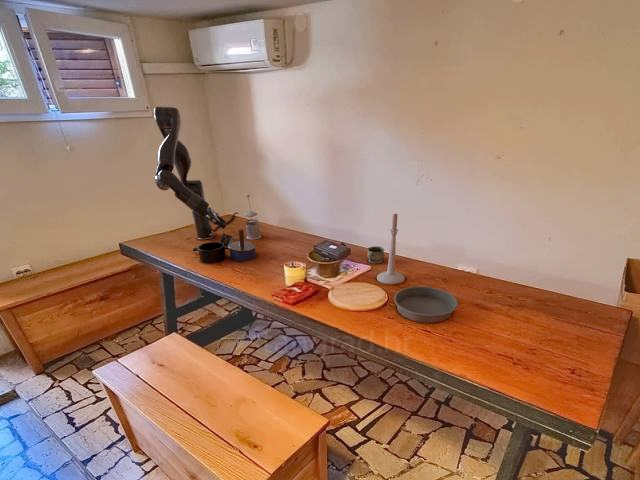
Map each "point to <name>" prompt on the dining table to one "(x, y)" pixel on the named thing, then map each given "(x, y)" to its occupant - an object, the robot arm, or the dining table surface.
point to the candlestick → (391, 260)
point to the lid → (241, 243)
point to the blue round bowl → (242, 255)
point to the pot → (212, 252)
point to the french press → (252, 225)
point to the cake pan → (425, 304)
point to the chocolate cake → (226, 239)
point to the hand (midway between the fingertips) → (224, 225)
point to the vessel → (375, 254)
